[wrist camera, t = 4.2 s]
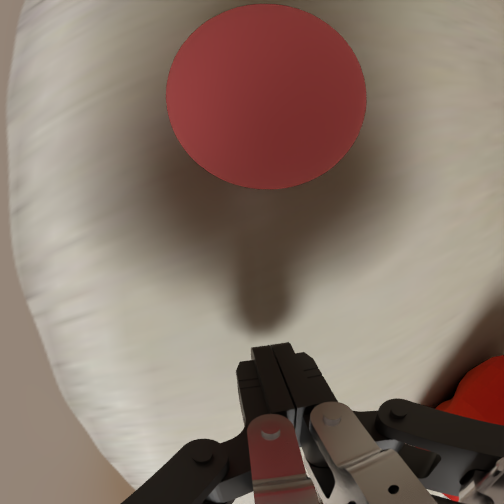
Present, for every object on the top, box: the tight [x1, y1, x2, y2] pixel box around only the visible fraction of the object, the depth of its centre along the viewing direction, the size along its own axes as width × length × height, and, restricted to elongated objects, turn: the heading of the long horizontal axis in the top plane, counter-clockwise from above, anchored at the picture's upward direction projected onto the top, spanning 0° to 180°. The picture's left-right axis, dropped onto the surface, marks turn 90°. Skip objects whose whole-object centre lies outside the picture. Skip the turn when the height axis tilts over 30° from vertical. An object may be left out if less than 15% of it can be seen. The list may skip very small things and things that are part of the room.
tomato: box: [417, 355, 504, 502], centre depth 13 cm, size 14×13×10 cm
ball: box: [166, 4, 366, 189], centre depth 7 cm, size 6×6×6 cm
